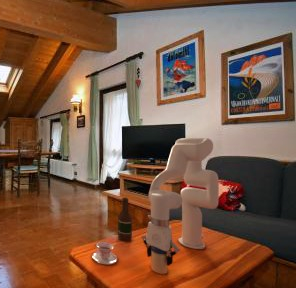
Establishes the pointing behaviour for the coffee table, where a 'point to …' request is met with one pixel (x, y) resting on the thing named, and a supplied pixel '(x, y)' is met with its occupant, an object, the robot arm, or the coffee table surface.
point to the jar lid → (158, 250)
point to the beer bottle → (125, 222)
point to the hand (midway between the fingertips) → (159, 259)
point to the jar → (159, 262)
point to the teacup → (104, 254)
